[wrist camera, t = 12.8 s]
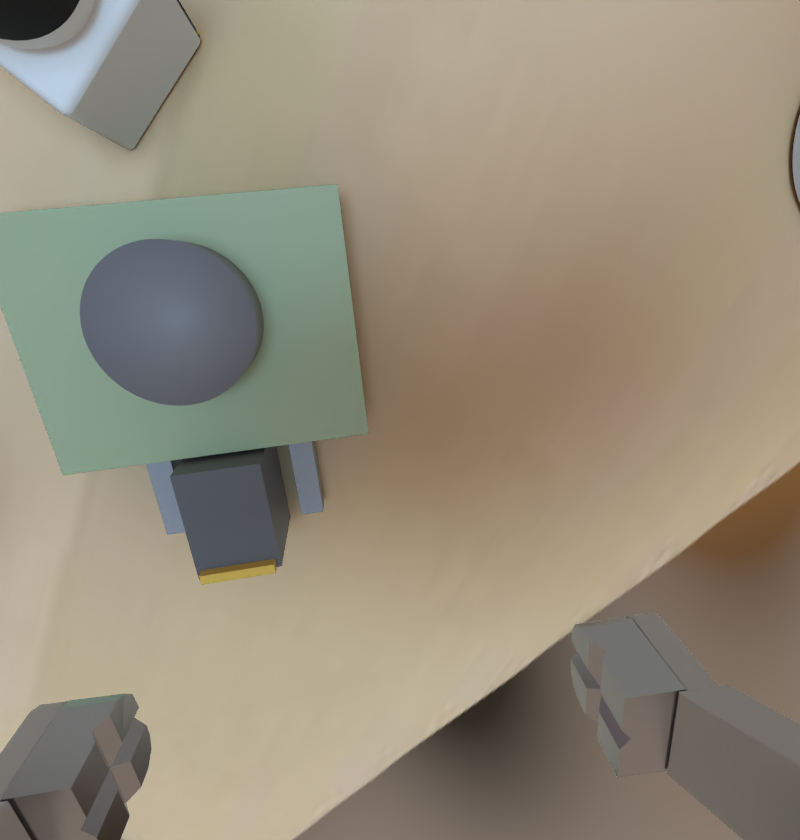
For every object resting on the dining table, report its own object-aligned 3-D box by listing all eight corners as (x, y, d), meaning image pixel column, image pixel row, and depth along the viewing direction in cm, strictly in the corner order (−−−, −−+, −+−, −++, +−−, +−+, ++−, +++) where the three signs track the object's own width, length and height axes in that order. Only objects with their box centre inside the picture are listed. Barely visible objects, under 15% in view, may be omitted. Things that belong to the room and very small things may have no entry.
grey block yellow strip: (272, 428, 32) (258, 468, 26) (290, 516, 35) (280, 571, 28) (198, 438, 32) (165, 481, 26) (221, 527, 34) (196, 585, 28)
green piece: (337, 194, 28) (337, 174, 22) (374, 490, 35) (383, 543, 28) (19, 222, 26) (-85, 209, 20) (121, 527, 33) (69, 593, 26)
